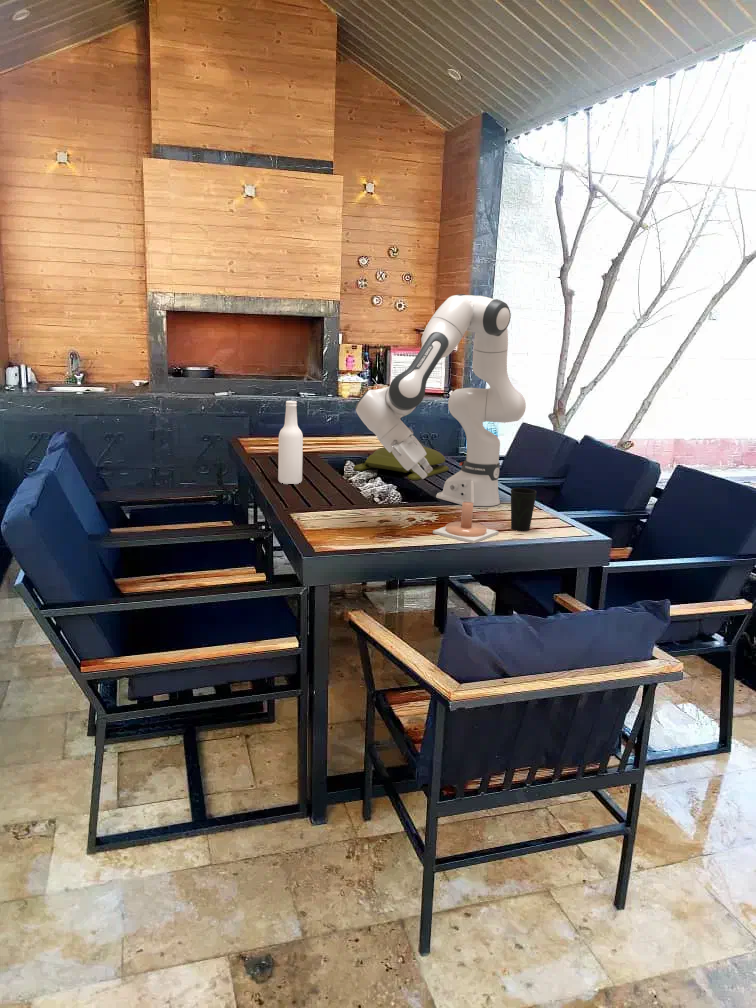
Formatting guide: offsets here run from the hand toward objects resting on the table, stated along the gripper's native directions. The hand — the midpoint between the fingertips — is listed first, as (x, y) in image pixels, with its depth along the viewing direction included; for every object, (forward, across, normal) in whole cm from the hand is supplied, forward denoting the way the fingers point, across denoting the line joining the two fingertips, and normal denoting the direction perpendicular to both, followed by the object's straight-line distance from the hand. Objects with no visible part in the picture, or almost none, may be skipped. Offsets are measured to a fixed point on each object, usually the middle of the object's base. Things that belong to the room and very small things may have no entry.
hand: (428, 474), depth 223 cm
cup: (+31, +12, -8) cm, 34 cm away
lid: (+20, 0, +3) cm, 20 cm away
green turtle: (-5, +89, +28) cm, 93 cm away
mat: (+20, 0, +3) cm, 21 cm away
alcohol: (-30, +46, +53) cm, 76 cm away
